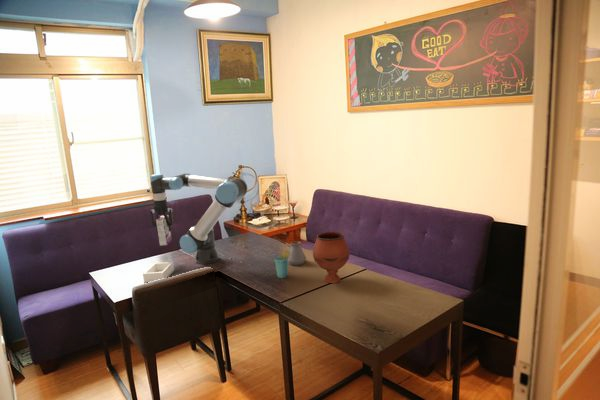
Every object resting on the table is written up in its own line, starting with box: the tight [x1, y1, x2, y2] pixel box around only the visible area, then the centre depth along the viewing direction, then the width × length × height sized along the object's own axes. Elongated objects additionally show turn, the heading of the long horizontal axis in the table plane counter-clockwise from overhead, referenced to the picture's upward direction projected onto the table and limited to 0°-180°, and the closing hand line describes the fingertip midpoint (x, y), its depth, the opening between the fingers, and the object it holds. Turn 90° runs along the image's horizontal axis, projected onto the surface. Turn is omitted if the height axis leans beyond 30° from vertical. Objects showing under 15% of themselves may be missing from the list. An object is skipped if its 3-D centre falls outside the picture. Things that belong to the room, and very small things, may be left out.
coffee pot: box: [272, 237, 307, 266], centre depth 247 cm, size 21×12×15 cm, turn 60°
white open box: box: [142, 261, 175, 284], centre depth 238 cm, size 11×17×6 cm, turn 179°
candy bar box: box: [155, 215, 173, 247], centre depth 251 cm, size 11×5×16 cm, turn 3°
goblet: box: [312, 231, 350, 284], centre depth 215 cm, size 19×19×25 cm
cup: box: [270, 249, 290, 279], centre depth 225 cm, size 14×8×15 cm, turn 141°
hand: (164, 236), depth 252 cm, fingers closed on candy bar box, 5 cm apart
